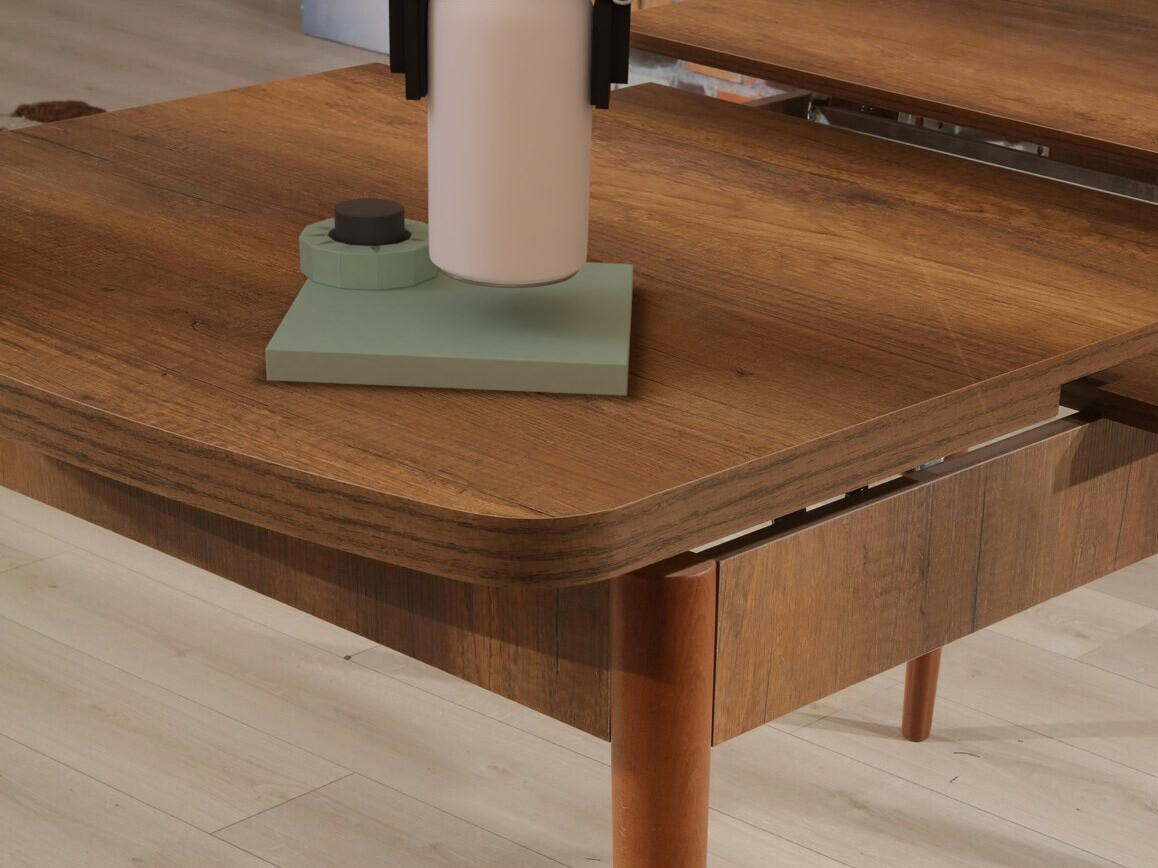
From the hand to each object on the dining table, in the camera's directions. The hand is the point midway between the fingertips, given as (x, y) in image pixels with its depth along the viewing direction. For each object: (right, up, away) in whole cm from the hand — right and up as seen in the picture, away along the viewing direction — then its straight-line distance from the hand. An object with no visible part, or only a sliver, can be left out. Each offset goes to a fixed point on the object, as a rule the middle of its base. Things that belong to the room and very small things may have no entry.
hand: (510, 93), depth 70 cm
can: (0, -7, +3) cm, 7 cm away
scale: (-2, -9, +5) cm, 11 cm away
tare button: (-7, -5, +8) cm, 11 cm away
